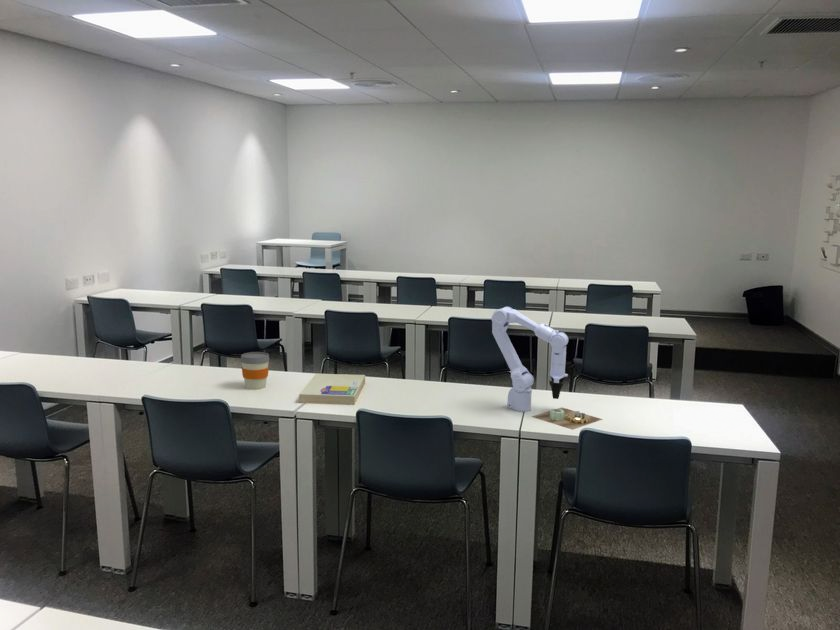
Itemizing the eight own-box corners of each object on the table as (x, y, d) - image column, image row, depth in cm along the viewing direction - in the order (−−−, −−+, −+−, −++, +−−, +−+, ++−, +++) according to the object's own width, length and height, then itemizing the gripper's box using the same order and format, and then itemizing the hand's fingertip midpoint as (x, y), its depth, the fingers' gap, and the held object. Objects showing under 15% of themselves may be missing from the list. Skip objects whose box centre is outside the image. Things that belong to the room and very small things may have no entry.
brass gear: (561, 419, 268) (561, 411, 268) (574, 415, 274) (575, 407, 274) (580, 425, 262) (580, 416, 261) (593, 421, 268) (594, 412, 267)
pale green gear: (546, 418, 270) (547, 410, 269) (555, 415, 274) (555, 407, 273) (558, 421, 266) (558, 413, 265) (566, 418, 270) (567, 411, 269)
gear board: (531, 418, 272) (531, 407, 271) (561, 409, 285) (562, 399, 284) (572, 432, 257) (573, 420, 256) (602, 421, 270) (603, 410, 269)
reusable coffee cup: (271, 383, 316) (271, 351, 314) (267, 390, 304) (266, 358, 302) (244, 383, 316) (243, 351, 313) (238, 390, 303) (238, 358, 301)
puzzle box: (366, 384, 321) (315, 382, 322) (366, 374, 320) (315, 372, 322) (354, 406, 285) (297, 404, 287) (354, 396, 285) (297, 393, 286)
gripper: (567, 368, 264) (565, 401, 266) (568, 359, 278) (566, 392, 280) (549, 366, 265) (547, 400, 268) (551, 358, 279) (549, 390, 282)
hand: (556, 395), depth 274 cm, fingers open, 7 cm apart
